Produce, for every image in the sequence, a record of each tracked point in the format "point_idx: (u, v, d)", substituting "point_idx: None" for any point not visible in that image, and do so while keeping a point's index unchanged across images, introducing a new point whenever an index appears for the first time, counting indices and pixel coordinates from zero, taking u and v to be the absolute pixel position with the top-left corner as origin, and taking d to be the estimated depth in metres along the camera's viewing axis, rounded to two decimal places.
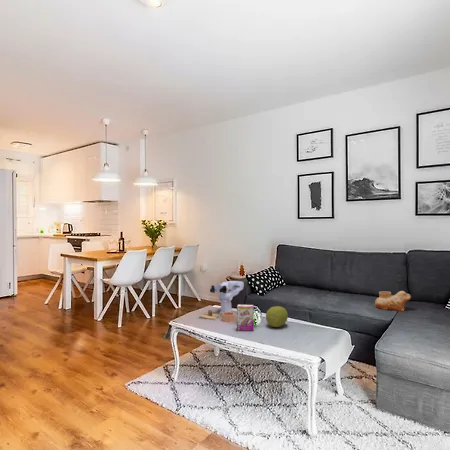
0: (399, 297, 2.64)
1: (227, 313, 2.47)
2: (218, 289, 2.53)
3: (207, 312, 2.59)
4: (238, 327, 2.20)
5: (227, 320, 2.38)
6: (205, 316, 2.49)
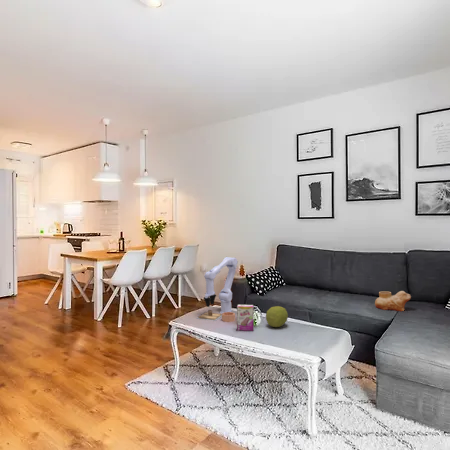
0: (399, 297, 2.64)
1: (227, 313, 2.47)
2: None
3: (207, 312, 2.59)
4: (238, 327, 2.20)
5: (227, 320, 2.38)
6: (205, 316, 2.49)
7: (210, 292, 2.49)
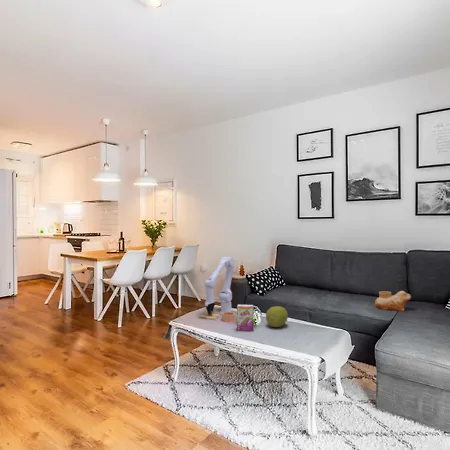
0: (399, 297, 2.64)
1: (227, 313, 2.47)
2: (210, 303, 2.52)
3: (207, 312, 2.59)
4: (238, 327, 2.20)
5: (227, 320, 2.38)
6: (205, 316, 2.49)
7: (210, 300, 2.49)
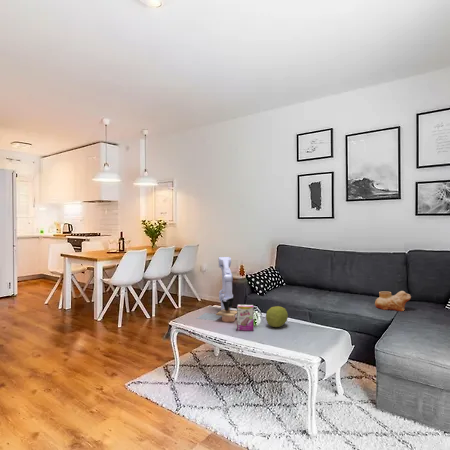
0: (399, 297, 2.64)
1: None
2: None
3: (224, 309, 2.51)
4: (238, 327, 2.20)
5: (227, 320, 2.38)
6: (222, 313, 2.40)
7: (228, 295, 2.40)
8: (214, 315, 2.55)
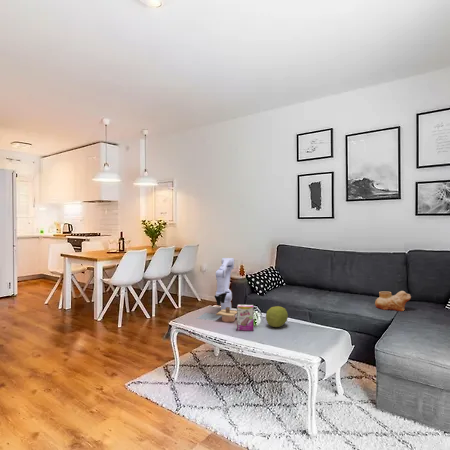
0: (399, 297, 2.64)
1: None
2: (221, 294, 2.50)
3: (224, 309, 2.51)
4: (238, 327, 2.20)
5: (227, 320, 2.38)
6: (222, 313, 2.40)
7: (221, 290, 2.47)
8: (214, 315, 2.55)
